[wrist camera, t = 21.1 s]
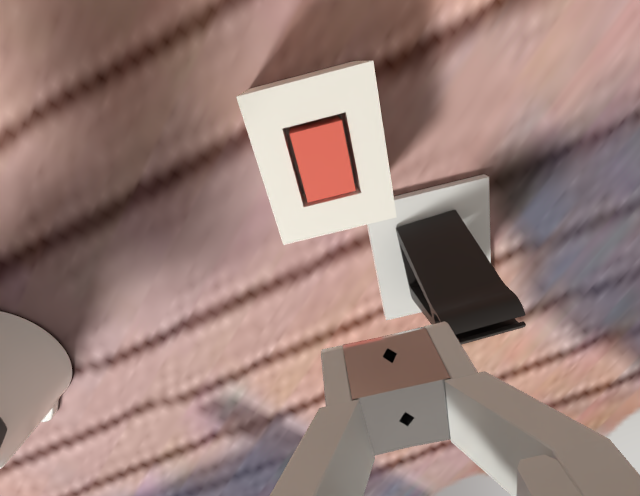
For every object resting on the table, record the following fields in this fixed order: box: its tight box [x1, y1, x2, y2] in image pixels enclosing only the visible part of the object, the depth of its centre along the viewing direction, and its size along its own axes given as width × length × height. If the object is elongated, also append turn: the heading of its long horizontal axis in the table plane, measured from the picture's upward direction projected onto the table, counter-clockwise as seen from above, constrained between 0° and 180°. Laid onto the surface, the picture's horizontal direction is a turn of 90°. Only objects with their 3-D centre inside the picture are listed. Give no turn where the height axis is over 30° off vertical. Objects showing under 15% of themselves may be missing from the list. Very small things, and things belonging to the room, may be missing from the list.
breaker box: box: [237, 61, 397, 245], centre depth 29 cm, size 9×11×8 cm
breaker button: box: [289, 115, 356, 202], centre depth 27 cm, size 4×5×3 cm
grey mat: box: [367, 174, 491, 320], centre depth 38 cm, size 12×14×1 cm
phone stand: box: [396, 210, 526, 344], centre depth 33 cm, size 9×6×12 cm, turn 17°
